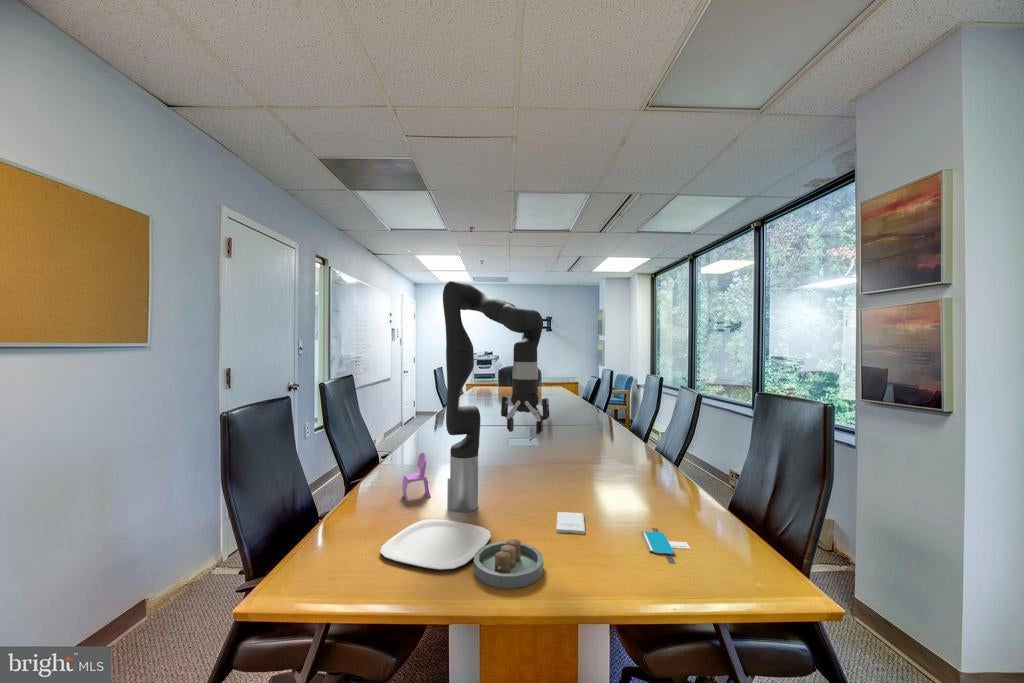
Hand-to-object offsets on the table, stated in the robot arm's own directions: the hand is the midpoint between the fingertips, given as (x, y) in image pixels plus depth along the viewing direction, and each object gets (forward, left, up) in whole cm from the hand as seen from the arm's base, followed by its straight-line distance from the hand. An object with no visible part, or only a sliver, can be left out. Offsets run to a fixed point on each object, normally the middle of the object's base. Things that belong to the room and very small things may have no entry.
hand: (524, 432), depth 122 cm
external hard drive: (+12, +9, -29) cm, 32 cm away
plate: (-18, -18, -29) cm, 38 cm away
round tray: (+4, -22, -28) cm, 36 cm away
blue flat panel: (+39, +6, -29) cm, 49 cm away
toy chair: (-44, +10, -28) cm, 53 cm away
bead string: (+4, -22, -27) cm, 35 cm away
